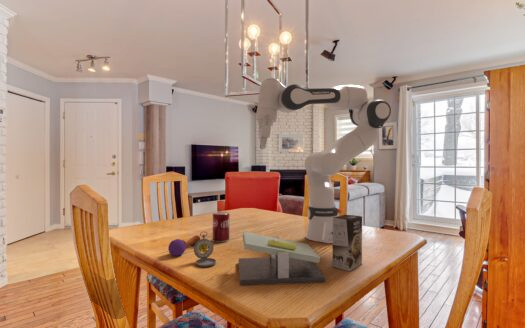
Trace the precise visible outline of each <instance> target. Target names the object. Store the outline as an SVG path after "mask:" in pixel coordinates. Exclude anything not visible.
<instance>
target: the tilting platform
mask: <svg viewBox="0 0 525 328" xmlns="http://www.w3.org/2000/svg"><path fill="white" fill-rule="evenodd" d="M273 237H274V236H269V235H268V236H267V235H262V234H258V233H251V232H245V231H243V233H242V241H243V242H242V243H243V248H244V250H247V251H253V252H257V253H262V254H269V255H270V254H273V255H278V252H289V258H295V259H300V260H306V261H311V262H314V263H318V264H320V261H321V257H320V256H319V254H317V252H315V250H314V249H313V248H312V247H311V246H310V245H309V244H308V243H304V242H299V241H295V240H288V239H282V238H279V239H278V238H273Z"/></svg>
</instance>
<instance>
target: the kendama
mask: <svg viewBox="0 0 525 328" xmlns="http://www.w3.org/2000/svg"><path fill="white" fill-rule="evenodd" d="M199 240H201V236H200V235H197V234H196V235H194V236H193V237H191V238H190V239H188V240H186V241H185V240H182V239H181V238H175V239H173V240H171V241H170V242H169V244H168V248H167V249H168V250H167V251H168V253H169V254H170V255H171V256H173V257H180V256H182V255H183V254H184V253H185V251H186V249H187V246H190V245H191V246H192V245H195V244H196V243H197V242H198V241H199Z"/></svg>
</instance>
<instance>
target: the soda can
mask: <svg viewBox="0 0 525 328" xmlns="http://www.w3.org/2000/svg"><path fill="white" fill-rule="evenodd" d="M230 217H231V216H230V213H229V212H228V211H215V212H213V213H212V241H213V242H215V243H226V242H228V241H229V240H230V222H231V221H230Z"/></svg>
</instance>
